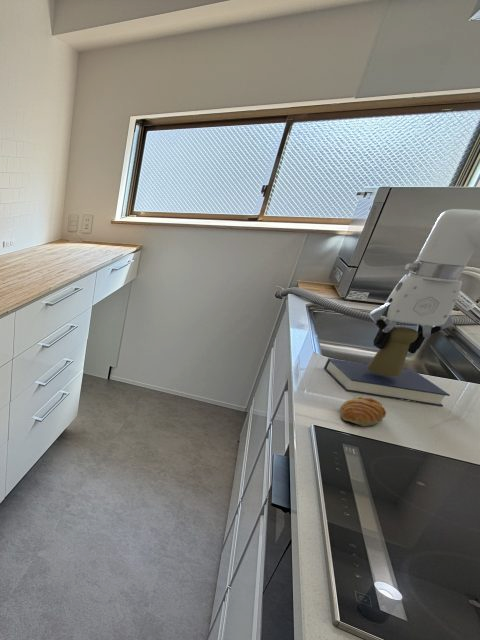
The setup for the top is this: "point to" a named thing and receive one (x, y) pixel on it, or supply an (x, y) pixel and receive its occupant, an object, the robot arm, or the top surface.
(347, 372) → the book
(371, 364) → the cork
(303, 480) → the top surface
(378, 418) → the pastry
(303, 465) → the top surface
